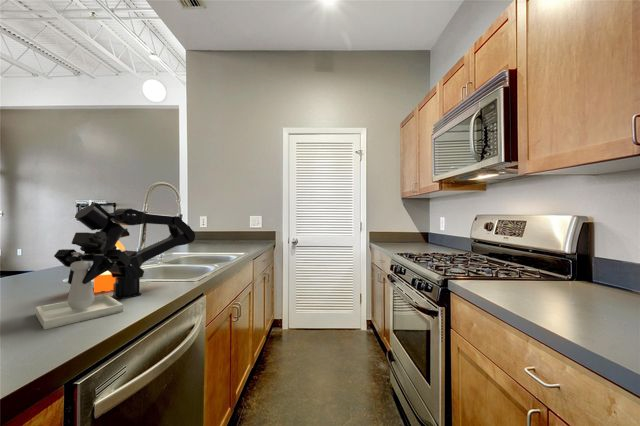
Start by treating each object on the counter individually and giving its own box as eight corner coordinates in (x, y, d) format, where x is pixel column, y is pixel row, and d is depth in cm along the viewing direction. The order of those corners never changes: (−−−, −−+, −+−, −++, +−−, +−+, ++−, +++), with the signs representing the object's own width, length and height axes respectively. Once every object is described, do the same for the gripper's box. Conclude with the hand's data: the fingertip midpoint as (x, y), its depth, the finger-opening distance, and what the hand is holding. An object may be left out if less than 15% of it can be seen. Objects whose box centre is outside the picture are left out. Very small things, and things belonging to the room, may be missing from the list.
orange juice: (93, 292, 97) (94, 236, 97) (100, 286, 105) (100, 234, 105) (120, 290, 101) (121, 235, 101) (124, 284, 109) (125, 233, 109)
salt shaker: (66, 312, 73) (65, 264, 73) (68, 307, 78) (67, 261, 78) (94, 307, 77) (93, 261, 77) (94, 302, 81) (94, 258, 81)
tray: (106, 300, 88) (106, 294, 88) (123, 311, 78) (123, 304, 78) (35, 314, 76) (35, 306, 76) (44, 329, 66) (44, 321, 66)
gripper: (59, 222, 81) (19, 266, 70) (124, 222, 81) (94, 266, 70) (82, 245, 89) (49, 289, 78) (140, 245, 89) (116, 288, 78)
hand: (76, 283), depth 76 cm, fingers closed on salt shaker, 3 cm apart
